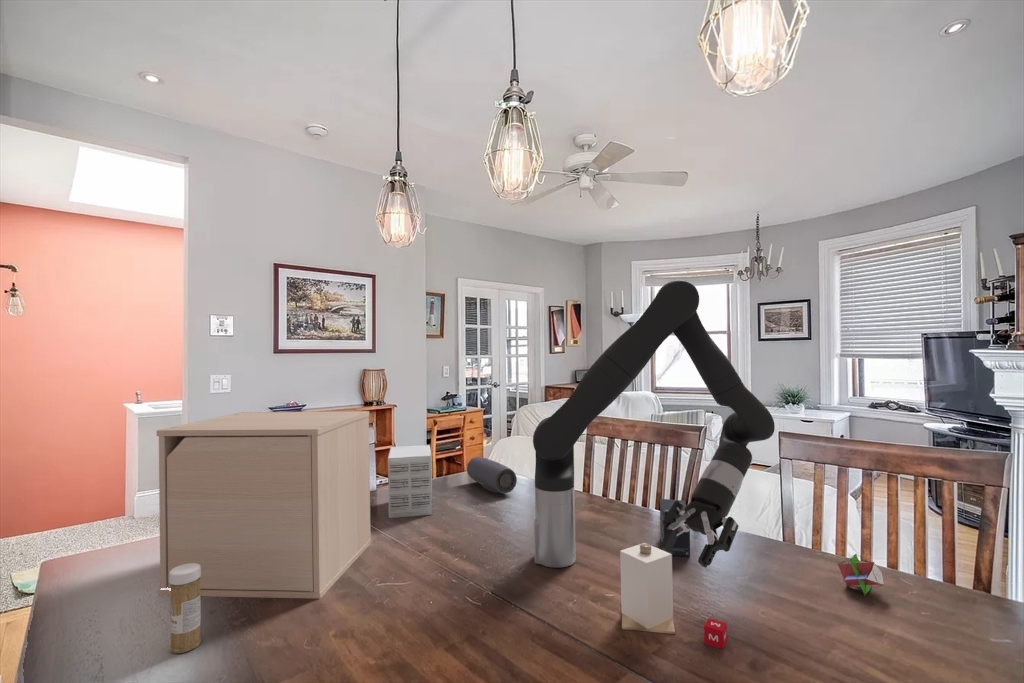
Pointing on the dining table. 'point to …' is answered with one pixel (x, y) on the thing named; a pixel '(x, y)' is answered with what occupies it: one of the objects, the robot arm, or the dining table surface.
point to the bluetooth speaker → (492, 475)
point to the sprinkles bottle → (185, 607)
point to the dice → (715, 633)
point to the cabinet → (265, 501)
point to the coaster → (633, 625)
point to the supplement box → (410, 481)
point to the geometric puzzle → (861, 574)
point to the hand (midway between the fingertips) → (683, 557)
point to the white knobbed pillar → (646, 585)
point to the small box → (683, 539)
